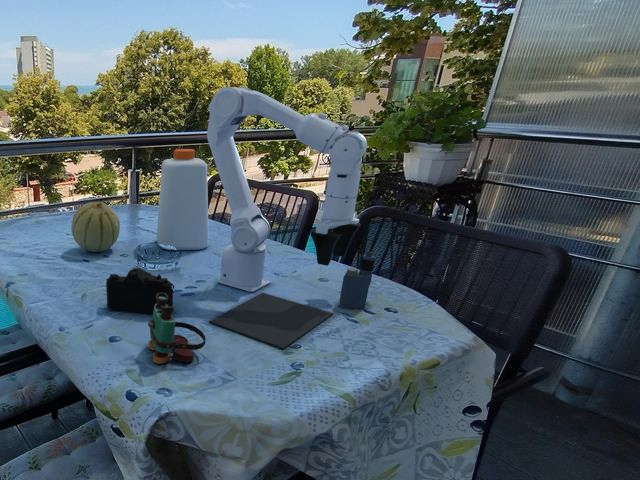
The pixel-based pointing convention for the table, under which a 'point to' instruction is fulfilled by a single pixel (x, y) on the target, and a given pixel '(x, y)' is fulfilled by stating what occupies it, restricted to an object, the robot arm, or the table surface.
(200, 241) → the plastic bottle
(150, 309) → the film camera
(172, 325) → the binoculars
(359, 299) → the vaping device
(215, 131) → the robot arm
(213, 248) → the table surface
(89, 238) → the cantaloupe
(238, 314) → the mat
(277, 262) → the table surface
